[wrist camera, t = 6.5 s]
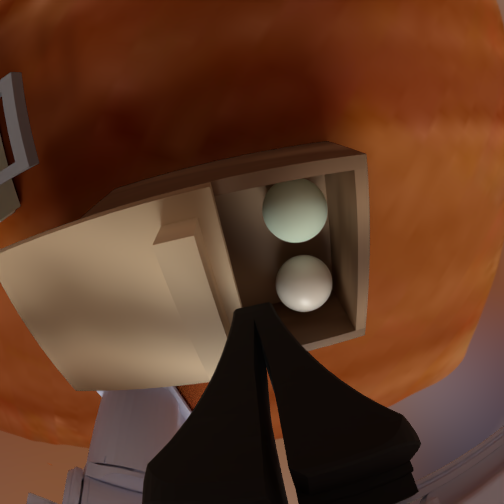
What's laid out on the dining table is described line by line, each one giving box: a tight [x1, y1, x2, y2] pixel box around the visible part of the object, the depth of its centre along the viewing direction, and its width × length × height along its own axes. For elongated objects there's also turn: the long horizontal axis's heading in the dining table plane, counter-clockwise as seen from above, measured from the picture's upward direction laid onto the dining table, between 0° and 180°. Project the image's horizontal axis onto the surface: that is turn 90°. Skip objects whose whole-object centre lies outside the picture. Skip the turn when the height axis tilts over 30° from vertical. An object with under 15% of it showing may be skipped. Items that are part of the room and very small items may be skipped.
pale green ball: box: [262, 178, 328, 243], centre depth 14 cm, size 3×3×3 cm
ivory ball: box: [276, 255, 332, 312], centre depth 16 cm, size 3×3×3 cm
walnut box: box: [80, 141, 370, 351], centre depth 15 cm, size 10×12×5 cm
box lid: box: [0, 182, 243, 391], centre depth 12 cm, size 10×12×2 cm
